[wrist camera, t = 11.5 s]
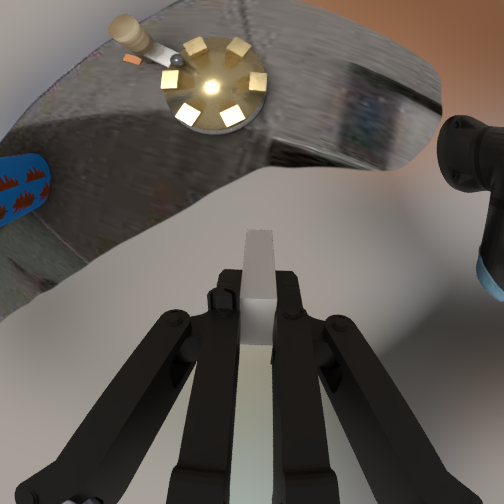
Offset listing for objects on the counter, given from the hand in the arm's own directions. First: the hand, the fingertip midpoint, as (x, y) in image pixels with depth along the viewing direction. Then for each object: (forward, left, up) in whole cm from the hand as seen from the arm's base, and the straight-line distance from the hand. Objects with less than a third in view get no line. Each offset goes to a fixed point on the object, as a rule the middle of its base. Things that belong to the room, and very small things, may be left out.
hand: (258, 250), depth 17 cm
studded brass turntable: (+8, -17, -25) cm, 31 cm away
